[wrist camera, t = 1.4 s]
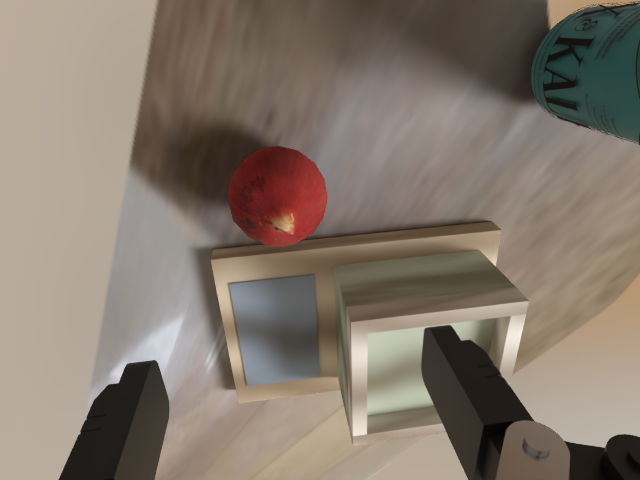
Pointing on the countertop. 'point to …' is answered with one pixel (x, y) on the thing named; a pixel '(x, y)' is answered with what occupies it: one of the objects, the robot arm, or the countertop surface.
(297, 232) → the onion
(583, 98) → the beverage bottle
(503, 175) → the countertop surface
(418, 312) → the tray with open box
